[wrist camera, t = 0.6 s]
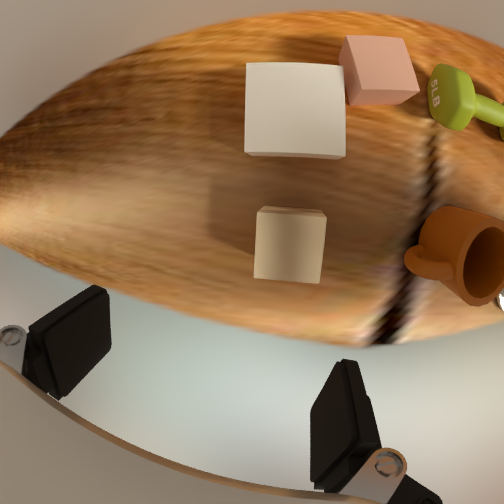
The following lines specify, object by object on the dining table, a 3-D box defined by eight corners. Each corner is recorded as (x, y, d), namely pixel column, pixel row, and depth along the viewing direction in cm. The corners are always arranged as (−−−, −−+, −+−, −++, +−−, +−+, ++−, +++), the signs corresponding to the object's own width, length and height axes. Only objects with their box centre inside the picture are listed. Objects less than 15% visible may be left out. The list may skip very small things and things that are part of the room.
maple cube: (320, 209, 28) (326, 218, 22) (315, 263, 30) (319, 283, 24) (264, 205, 29) (257, 212, 23) (261, 258, 31) (253, 277, 25)
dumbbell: (424, 130, 24) (455, 120, 17) (418, 69, 22) (445, 48, 15) (513, 158, 21) (545, 159, 14) (508, 105, 19) (538, 98, 12)
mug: (396, 201, 26) (434, 209, 18) (474, 208, 25) (519, 219, 16) (390, 278, 29) (420, 312, 20) (466, 276, 27) (504, 303, 18)
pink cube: (386, 59, 22) (402, 38, 16) (398, 105, 23) (420, 91, 18) (337, 59, 23) (346, 35, 17) (349, 105, 25) (362, 89, 19)
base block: (336, 82, 24) (342, 66, 19) (337, 159, 27) (345, 156, 22) (254, 80, 26) (246, 63, 21) (252, 156, 28) (244, 151, 23)
